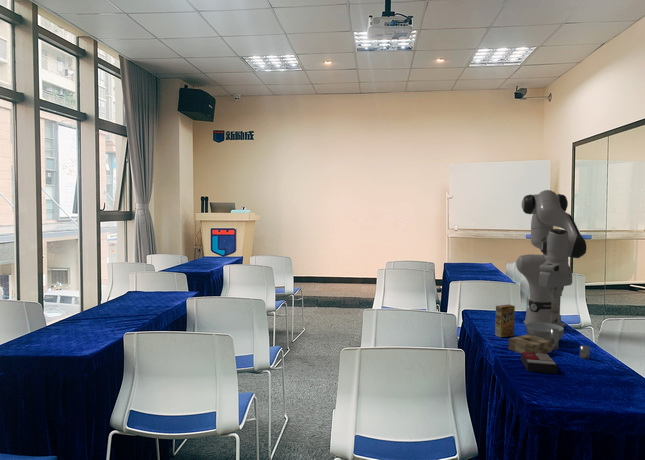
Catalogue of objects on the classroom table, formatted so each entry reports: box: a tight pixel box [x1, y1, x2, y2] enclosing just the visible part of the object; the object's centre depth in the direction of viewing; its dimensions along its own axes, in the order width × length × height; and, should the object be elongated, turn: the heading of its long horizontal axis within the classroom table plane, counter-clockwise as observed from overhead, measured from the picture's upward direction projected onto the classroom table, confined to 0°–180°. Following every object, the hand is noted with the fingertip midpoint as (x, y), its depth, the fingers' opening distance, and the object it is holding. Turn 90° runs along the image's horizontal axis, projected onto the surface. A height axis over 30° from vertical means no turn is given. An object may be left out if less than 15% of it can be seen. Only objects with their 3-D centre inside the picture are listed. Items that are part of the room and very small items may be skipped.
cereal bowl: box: [525, 322, 565, 341], centre depth 225 cm, size 17×17×7 cm
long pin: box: [551, 282, 562, 315], centre depth 206 cm, size 4×4×14 cm
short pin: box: [579, 344, 591, 360], centre depth 201 cm, size 4×4×5 cm
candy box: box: [494, 304, 516, 338], centre depth 233 cm, size 9×4×15 cm, turn 113°
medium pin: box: [550, 328, 560, 351], centre depth 213 cm, size 4×4×9 cm
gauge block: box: [507, 333, 553, 354], centre depth 210 cm, size 14×12×5 cm
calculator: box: [520, 352, 558, 375], centre depth 190 cm, size 11×4×15 cm
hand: (555, 296), depth 207 cm, fingers closed on long pin, 4 cm apart
